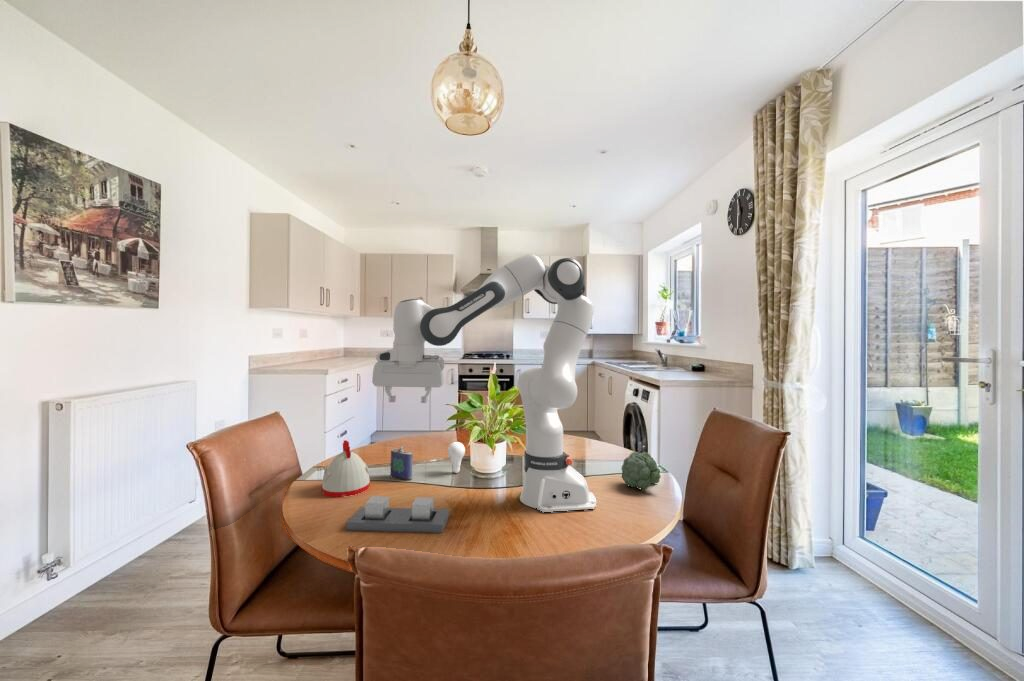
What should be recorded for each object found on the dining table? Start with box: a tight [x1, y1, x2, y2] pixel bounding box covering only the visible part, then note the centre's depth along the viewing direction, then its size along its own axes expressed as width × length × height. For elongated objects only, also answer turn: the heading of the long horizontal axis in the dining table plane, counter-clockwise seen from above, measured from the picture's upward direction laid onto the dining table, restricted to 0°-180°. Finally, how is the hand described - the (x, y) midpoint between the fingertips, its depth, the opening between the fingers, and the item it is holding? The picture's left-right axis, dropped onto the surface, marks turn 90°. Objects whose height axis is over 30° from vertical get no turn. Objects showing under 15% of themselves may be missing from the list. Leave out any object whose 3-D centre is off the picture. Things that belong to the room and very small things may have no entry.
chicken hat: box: [321, 439, 371, 498], centre depth 127 cm, size 14×14×15 cm
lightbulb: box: [447, 441, 466, 474], centre depth 143 cm, size 6×6×11 cm
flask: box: [390, 446, 414, 481], centre depth 137 cm, size 9×3×11 cm, turn 61°
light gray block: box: [411, 496, 435, 522], centre depth 103 cm, size 4×4×6 cm
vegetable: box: [621, 451, 662, 490], centre depth 132 cm, size 12×13×15 cm
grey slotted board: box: [345, 506, 450, 534], centre depth 103 cm, size 24×9×2 cm, turn 88°
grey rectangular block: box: [364, 495, 390, 521], centre depth 104 cm, size 4×4×6 cm
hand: (408, 402), depth 117 cm, fingers open, 8 cm apart
